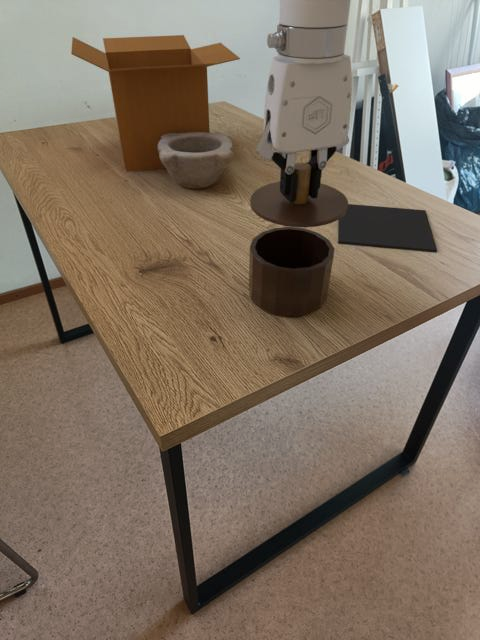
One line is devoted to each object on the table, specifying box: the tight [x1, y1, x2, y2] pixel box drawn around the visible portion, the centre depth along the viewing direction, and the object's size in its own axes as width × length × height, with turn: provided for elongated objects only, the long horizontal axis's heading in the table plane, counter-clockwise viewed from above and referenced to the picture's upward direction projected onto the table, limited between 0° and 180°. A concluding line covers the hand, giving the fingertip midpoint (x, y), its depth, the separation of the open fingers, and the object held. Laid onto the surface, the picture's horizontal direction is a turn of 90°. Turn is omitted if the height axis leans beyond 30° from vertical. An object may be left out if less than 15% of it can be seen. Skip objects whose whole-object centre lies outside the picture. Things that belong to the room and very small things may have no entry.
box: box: [70, 34, 241, 172], centre depth 112 cm, size 36×40×26 cm
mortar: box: [158, 131, 235, 190], centre depth 104 cm, size 17×17×9 cm
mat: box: [337, 203, 438, 253], centre depth 90 cm, size 18×16×1 cm
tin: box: [248, 226, 335, 318], centre depth 71 cm, size 13×13×8 cm
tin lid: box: [249, 162, 349, 228], centre depth 62 cm, size 14×14×6 cm
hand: (299, 195), depth 63 cm, fingers closed on tin lid, 2 cm apart
